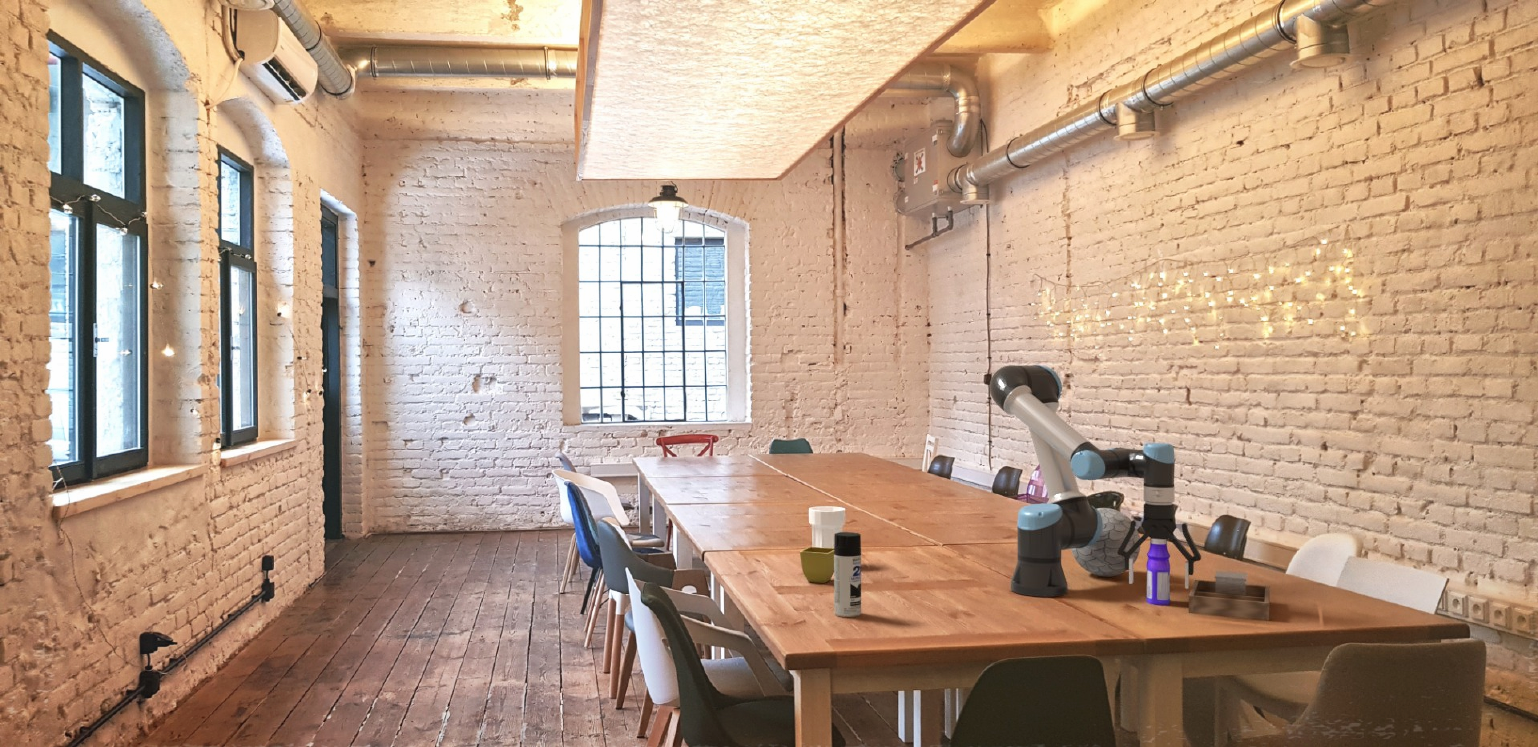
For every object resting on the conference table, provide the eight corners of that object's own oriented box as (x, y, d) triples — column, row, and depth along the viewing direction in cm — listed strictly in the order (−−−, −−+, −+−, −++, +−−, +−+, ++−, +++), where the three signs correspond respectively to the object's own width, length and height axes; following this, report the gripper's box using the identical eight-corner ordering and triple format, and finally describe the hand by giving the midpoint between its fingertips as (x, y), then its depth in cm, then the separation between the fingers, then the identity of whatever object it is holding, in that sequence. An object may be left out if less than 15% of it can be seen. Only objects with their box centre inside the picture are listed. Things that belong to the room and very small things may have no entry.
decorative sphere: (1114, 585, 299) (1115, 514, 299) (1055, 574, 314) (1056, 507, 314) (1153, 577, 311) (1154, 509, 311) (1095, 566, 327) (1095, 501, 327)
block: (1214, 605, 272) (1214, 576, 272) (1216, 598, 280) (1216, 570, 280) (1246, 608, 269) (1246, 578, 269) (1246, 601, 277) (1247, 572, 277)
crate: (1188, 615, 264) (1188, 595, 264) (1194, 598, 284) (1195, 579, 284) (1268, 623, 256) (1269, 603, 256) (1269, 605, 276) (1269, 586, 276)
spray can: (853, 618, 259) (853, 536, 258) (828, 615, 262) (829, 534, 262) (865, 613, 264) (866, 533, 264) (841, 610, 268) (842, 530, 268)
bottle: (1172, 608, 271) (1172, 540, 271) (1148, 607, 272) (1149, 539, 272) (1167, 602, 278) (1167, 536, 278) (1144, 601, 280) (1145, 535, 279)
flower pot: (798, 582, 301) (799, 550, 301) (809, 577, 309) (809, 546, 309) (828, 585, 298) (828, 553, 298) (838, 579, 306) (838, 548, 306)
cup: (846, 568, 321) (846, 511, 321) (808, 568, 322) (809, 511, 321) (844, 561, 333) (844, 506, 333) (808, 561, 333) (808, 506, 333)
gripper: (1106, 501, 277) (1106, 583, 277) (1210, 507, 266) (1210, 592, 266) (1110, 498, 284) (1110, 578, 284) (1212, 503, 273) (1211, 586, 273)
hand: (1158, 585), depth 275 cm, fingers open, 13 cm apart
